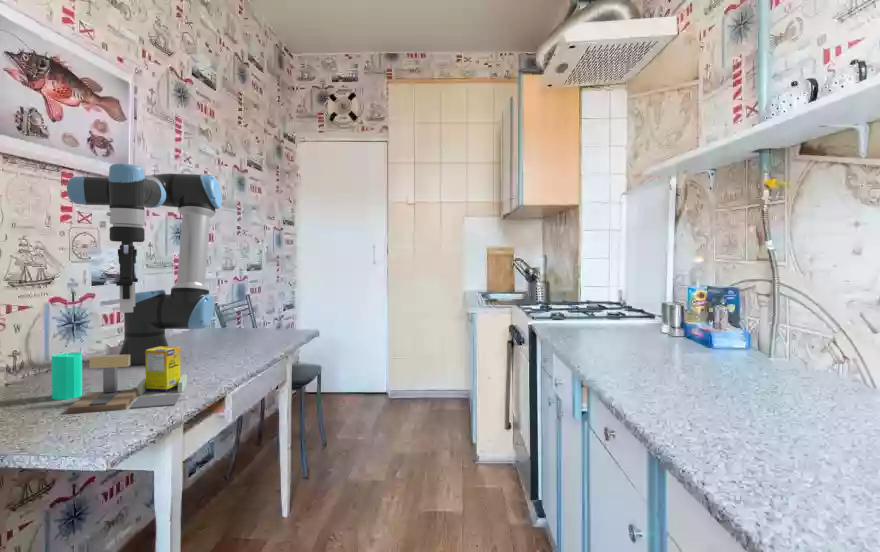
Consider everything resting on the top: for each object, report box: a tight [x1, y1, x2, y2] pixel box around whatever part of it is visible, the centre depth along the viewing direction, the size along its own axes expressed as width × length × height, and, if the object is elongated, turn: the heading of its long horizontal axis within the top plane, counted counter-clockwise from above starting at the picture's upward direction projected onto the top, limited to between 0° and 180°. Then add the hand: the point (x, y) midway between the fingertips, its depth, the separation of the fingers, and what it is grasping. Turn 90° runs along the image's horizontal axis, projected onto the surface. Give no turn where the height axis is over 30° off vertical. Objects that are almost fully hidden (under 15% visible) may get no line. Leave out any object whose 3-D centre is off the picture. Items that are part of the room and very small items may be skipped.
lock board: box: [67, 388, 139, 414], centre depth 116 cm, size 13×11×2 cm
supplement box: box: [144, 346, 182, 393], centre depth 129 cm, size 6×6×11 cm
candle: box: [51, 351, 83, 401], centre depth 121 cm, size 6×6×12 cm
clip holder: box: [137, 374, 188, 396], centre depth 129 cm, size 9×10×2 cm
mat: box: [130, 393, 181, 410], centre depth 118 cm, size 9×9×1 cm
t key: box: [89, 354, 131, 392], centre depth 120 cm, size 2×8×9 cm, turn 110°
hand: (128, 309), depth 125 cm, fingers open, 13 cm apart
